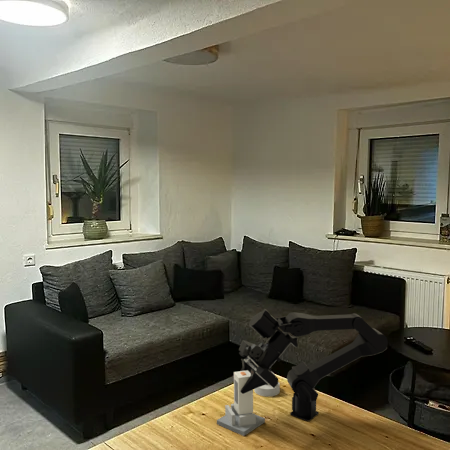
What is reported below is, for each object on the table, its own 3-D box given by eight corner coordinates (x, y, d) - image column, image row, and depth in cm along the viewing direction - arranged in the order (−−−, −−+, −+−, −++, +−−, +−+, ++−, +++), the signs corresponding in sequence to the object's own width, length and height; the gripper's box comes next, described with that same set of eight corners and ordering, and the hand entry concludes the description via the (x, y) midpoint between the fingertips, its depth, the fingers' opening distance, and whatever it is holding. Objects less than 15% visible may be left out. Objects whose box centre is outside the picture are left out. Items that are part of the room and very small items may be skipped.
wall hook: (259, 356, 163) (284, 362, 157) (259, 382, 164) (284, 389, 158) (245, 363, 156) (271, 370, 150) (245, 390, 157) (271, 399, 151)
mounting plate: (265, 421, 136) (265, 408, 136) (243, 436, 128) (243, 421, 128) (238, 410, 143) (238, 397, 142) (216, 423, 135) (216, 410, 135)
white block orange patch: (248, 405, 139) (247, 369, 138) (253, 412, 135) (253, 375, 134) (233, 408, 137) (233, 371, 136) (238, 414, 133) (238, 377, 132)
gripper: (244, 322, 144) (211, 361, 142) (267, 341, 126) (229, 386, 124) (268, 344, 147) (235, 382, 145) (294, 366, 129) (257, 410, 127)
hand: (238, 389), depth 135 cm, fingers closed on white block orange patch, 4 cm apart
